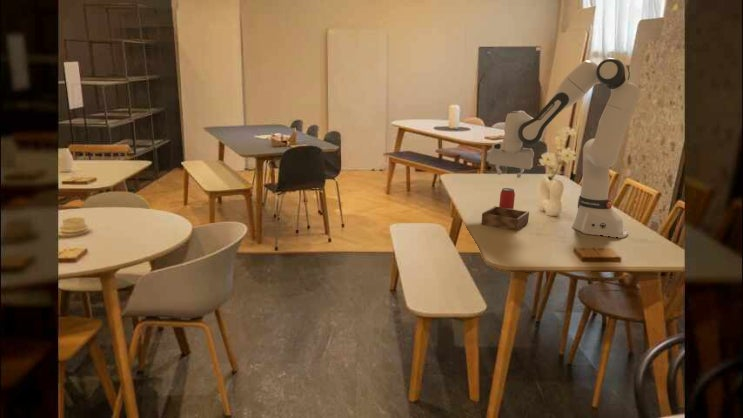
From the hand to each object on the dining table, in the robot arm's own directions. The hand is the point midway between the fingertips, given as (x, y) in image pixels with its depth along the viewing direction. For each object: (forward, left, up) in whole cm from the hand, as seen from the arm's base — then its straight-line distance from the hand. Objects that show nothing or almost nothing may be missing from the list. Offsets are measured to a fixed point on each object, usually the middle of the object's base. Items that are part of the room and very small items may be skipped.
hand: (508, 176), depth 264 cm
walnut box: (-5, +16, -18) cm, 25 cm away
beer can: (0, 0, -19) cm, 19 cm away
